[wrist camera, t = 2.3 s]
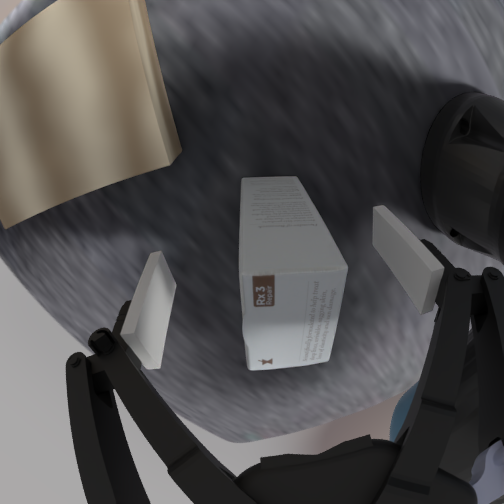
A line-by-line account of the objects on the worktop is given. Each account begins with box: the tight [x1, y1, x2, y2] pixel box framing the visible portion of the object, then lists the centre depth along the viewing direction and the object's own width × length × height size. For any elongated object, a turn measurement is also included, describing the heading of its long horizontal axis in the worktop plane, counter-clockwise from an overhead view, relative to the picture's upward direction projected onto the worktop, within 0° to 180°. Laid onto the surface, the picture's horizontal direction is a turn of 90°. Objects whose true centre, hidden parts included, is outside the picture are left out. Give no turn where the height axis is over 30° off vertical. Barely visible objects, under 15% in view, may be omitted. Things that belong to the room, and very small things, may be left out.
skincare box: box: [239, 176, 348, 370], centre depth 16 cm, size 6×4×12 cm
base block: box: [0, 0, 182, 229], centre depth 14 cm, size 16×14×4 cm
